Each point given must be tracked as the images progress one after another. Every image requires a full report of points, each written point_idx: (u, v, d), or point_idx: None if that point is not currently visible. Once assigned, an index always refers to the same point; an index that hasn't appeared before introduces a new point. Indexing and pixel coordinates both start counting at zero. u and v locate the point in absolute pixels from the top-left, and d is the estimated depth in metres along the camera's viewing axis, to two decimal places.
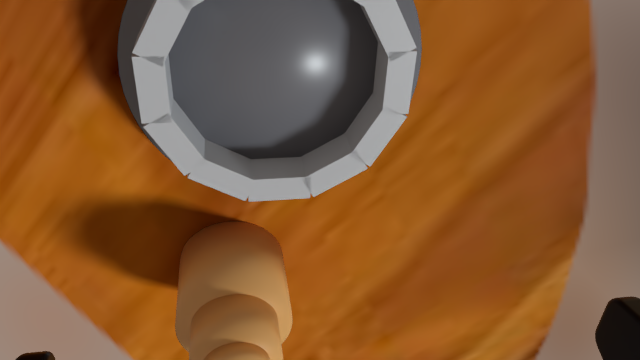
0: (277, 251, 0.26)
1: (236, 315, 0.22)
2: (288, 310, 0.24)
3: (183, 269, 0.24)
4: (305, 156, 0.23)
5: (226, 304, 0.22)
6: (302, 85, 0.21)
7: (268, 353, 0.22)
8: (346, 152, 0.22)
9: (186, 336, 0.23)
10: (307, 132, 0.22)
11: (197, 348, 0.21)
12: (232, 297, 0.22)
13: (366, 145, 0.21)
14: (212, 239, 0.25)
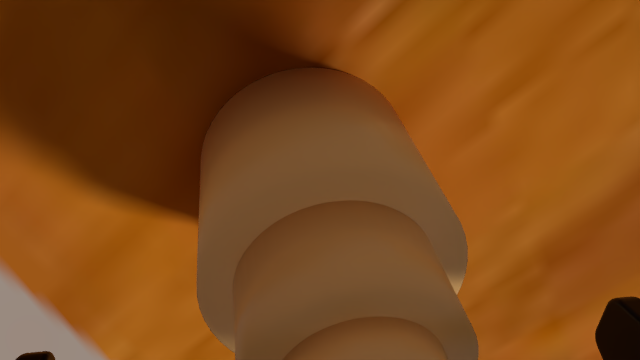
0: None
1: (363, 246, 0.08)
2: (462, 247, 0.10)
3: (212, 161, 0.11)
4: None
5: (330, 221, 0.09)
6: None
7: (444, 349, 0.08)
8: None
9: (222, 308, 0.10)
10: None
11: (264, 333, 0.08)
12: (343, 206, 0.09)
13: None
14: (276, 95, 0.11)
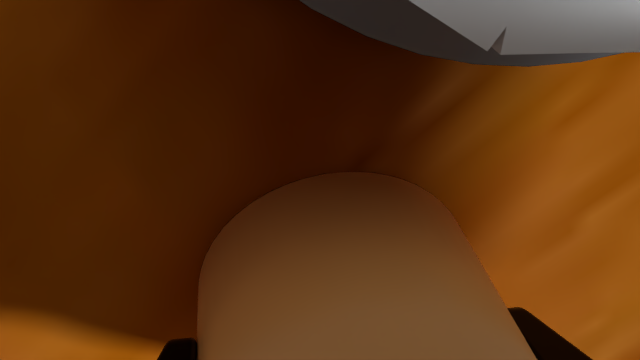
0: (478, 259, 0.09)
1: None
2: None
3: (213, 317, 0.08)
4: None
5: None
6: None
7: None
8: None
9: None
10: None
11: None
12: None
13: None
14: (303, 223, 0.08)
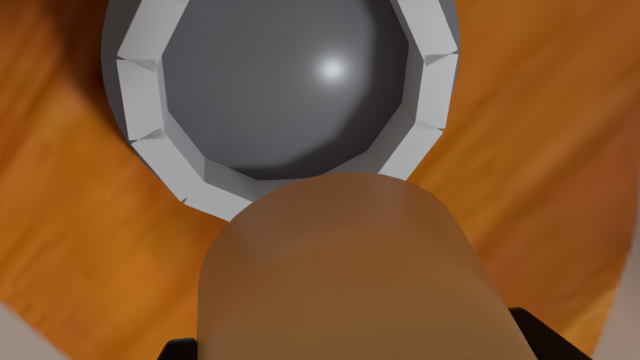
0: (479, 260, 0.09)
1: None
2: None
3: (213, 318, 0.08)
4: None
5: None
6: (319, 94, 0.18)
7: None
8: (370, 172, 0.18)
9: None
10: (324, 149, 0.19)
11: None
12: None
13: (394, 165, 0.18)
14: (303, 223, 0.08)
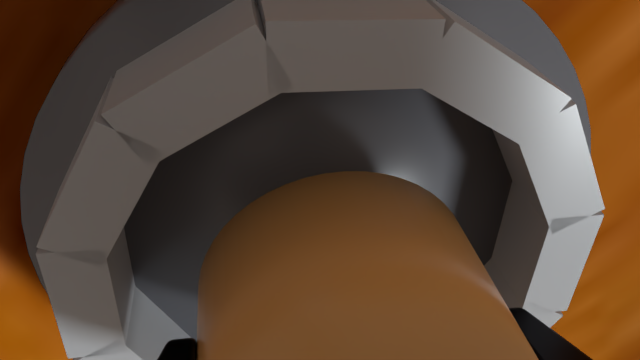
0: (479, 259, 0.09)
1: None
2: None
3: (213, 317, 0.08)
4: None
5: None
6: None
7: None
8: None
9: None
10: None
11: None
12: None
13: None
14: (304, 222, 0.08)
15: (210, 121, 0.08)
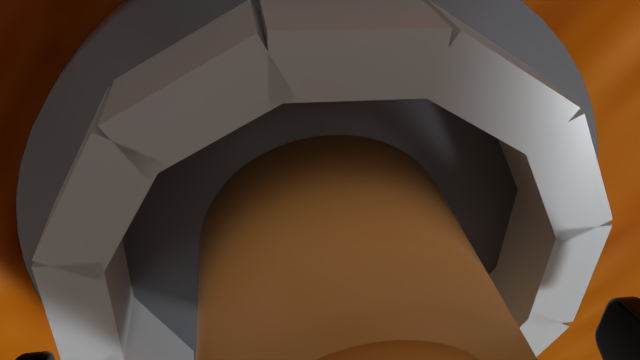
0: None
1: None
2: None
3: (213, 259, 0.09)
4: None
5: None
6: None
7: None
8: None
9: None
10: None
11: None
12: (389, 352, 0.07)
13: None
14: (294, 176, 0.09)
15: (210, 132, 0.08)
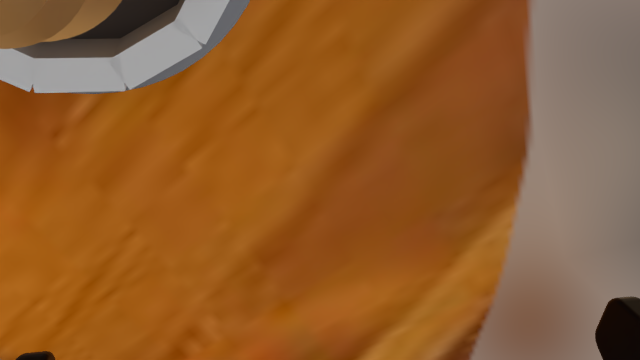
0: None
1: None
2: None
3: None
4: (125, 36, 0.17)
5: None
6: None
7: None
8: (168, 22, 0.15)
9: None
10: (123, 0, 0.16)
11: None
12: None
13: (194, 10, 0.15)
14: None
15: None
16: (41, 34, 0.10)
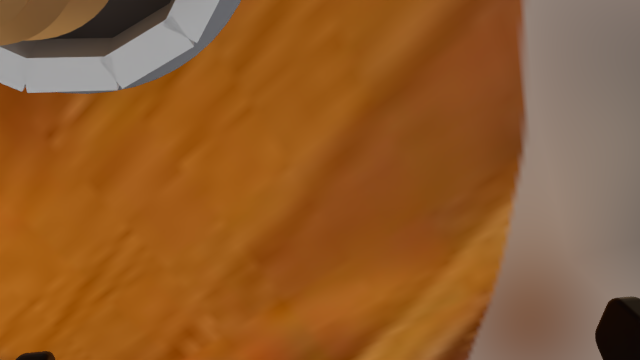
0: None
1: None
2: None
3: None
4: (117, 35, 0.17)
5: None
6: None
7: None
8: (160, 20, 0.15)
9: None
10: None
11: None
12: None
13: (185, 9, 0.15)
14: None
15: None
16: (27, 31, 0.11)
